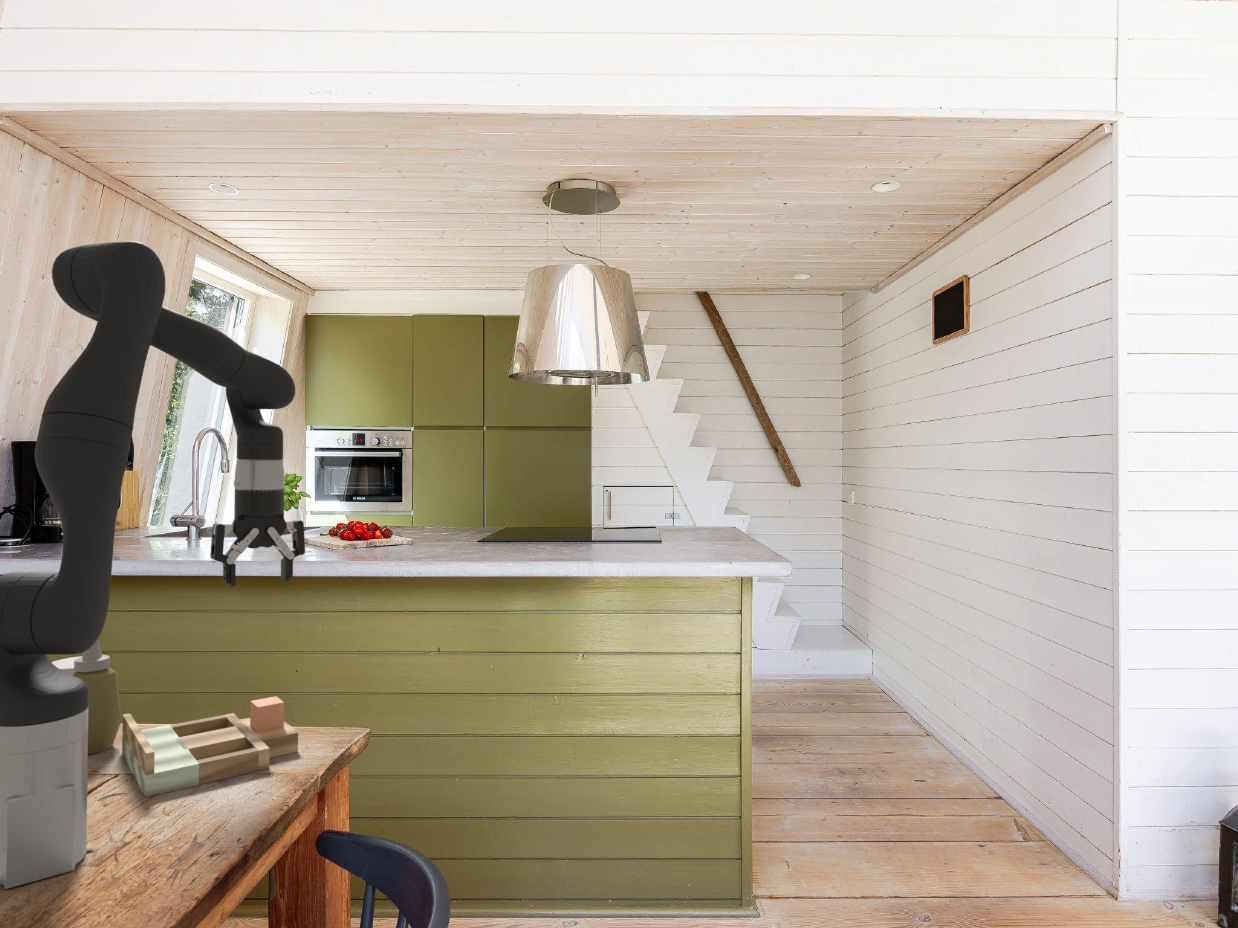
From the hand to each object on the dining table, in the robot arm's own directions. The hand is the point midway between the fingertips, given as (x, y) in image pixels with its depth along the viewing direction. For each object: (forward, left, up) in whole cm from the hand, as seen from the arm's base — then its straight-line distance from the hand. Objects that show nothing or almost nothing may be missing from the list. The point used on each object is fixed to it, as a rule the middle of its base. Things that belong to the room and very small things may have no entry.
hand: (258, 583), depth 128 cm
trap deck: (-5, +8, -26) cm, 27 cm away
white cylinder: (+19, +23, -26) cm, 39 cm away
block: (-5, 0, -23) cm, 23 cm away
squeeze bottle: (+10, +22, -26) cm, 35 cm away
